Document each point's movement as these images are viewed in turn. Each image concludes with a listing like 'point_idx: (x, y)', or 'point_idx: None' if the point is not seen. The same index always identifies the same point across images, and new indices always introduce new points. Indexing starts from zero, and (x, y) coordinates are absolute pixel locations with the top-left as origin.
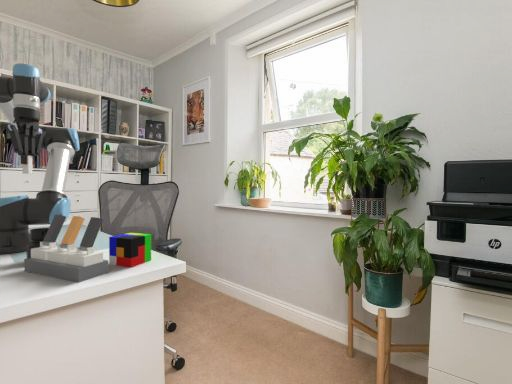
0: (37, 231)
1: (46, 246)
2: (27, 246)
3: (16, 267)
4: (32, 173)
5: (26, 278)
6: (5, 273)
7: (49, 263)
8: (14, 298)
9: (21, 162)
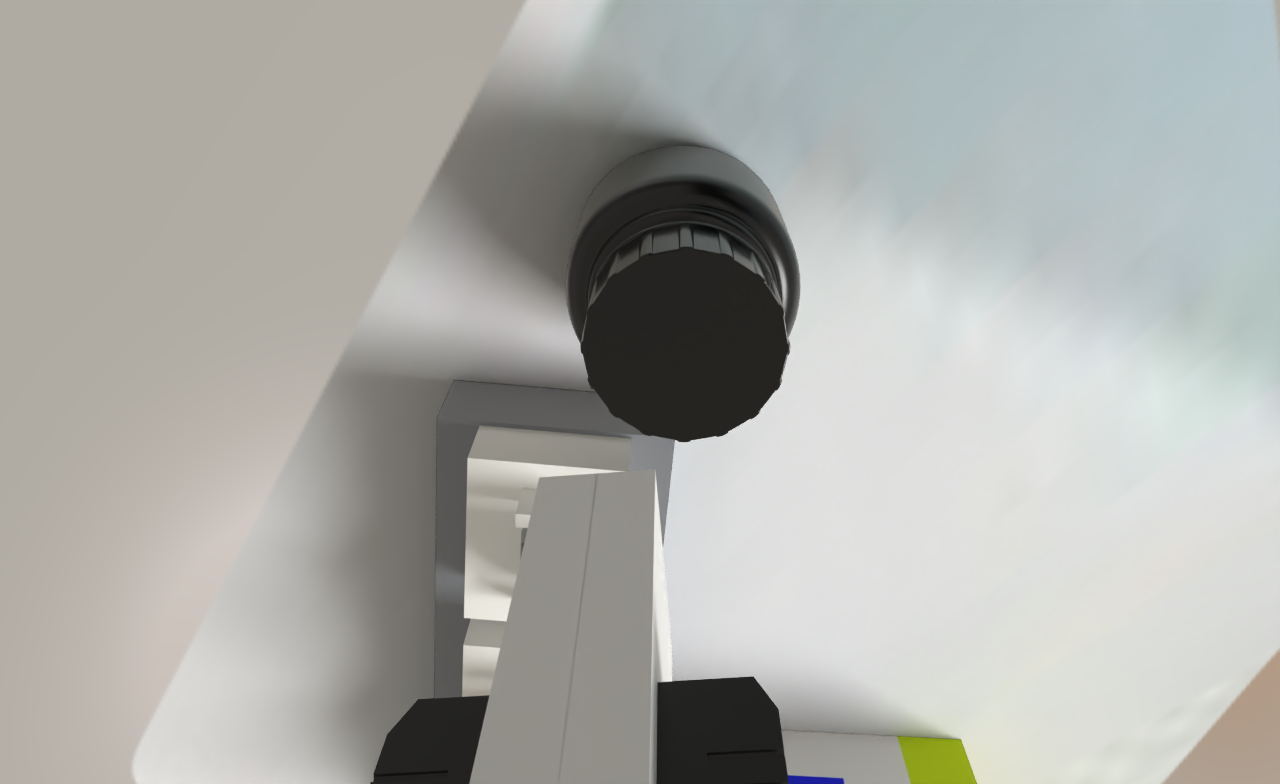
0: (600, 394)
1: None
2: (569, 261)
3: (491, 228)
4: (671, 645)
5: (368, 532)
6: (369, 312)
7: (434, 665)
8: (180, 742)
9: (394, 765)
